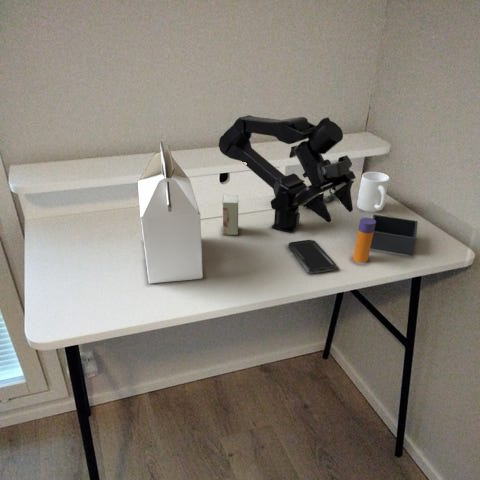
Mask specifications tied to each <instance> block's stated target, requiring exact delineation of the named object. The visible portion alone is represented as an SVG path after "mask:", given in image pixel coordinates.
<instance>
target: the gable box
mask: <svg viewBox="0 0 480 480" xmlns="http://www.w3.org/2000/svg"><path fill="white" fill-rule="evenodd" d="M159 147H160V151H158V152H156V153H154V154H153V156H152V157H151V159H150V160H149V162H148V163H147V165H146V168H145V170H144V171H143V173H142V174H141V176H140V178H139V180H138V181H137V187H138V189H137V191H138V201H139V215H140V216H139V217H140V224H141V232H142V240H143V248H144V255H145V264H146V272H147V279H148V283H149V284H161V283H170V282H172V283H173V282H179V281H180V282H181V281H192V280H202V279H203V276H204V273H203V272H204V271H203V249H202V248H203V247H202V225H201V223H202V222H201V212H200V209H199V208H200V207H199V205H198V202H197V199H196V196H195V195H196V194H195V192H194V189H193V186H192V182H191V179H190V178H189V177H188V176H187V174H186V173H185V172H184V170H183V169H182V168H181V166H180V165H179V164H178V162H177V161H176V160H175V159H174V157H173V156H172V152H171V148H170V145H167V147H166V150H165V148H164V143H163V141H159Z"/></svg>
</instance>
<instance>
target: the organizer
mask: <svg viewBox="0 0 480 480" xmlns="http://www.w3.org/2000/svg"><path fill="white" fill-rule="evenodd" d="M371 218H372V219H374V220H375V221H376V225H375V229H374V233H373V238H372V242H371V247H370V250H376V251H381V252H387V253H393V254H400V255H405V256H410V257H411V256H413V252H414V250H415V249H414V248H415V244H416V241H417V235H418V223H419V222H418V220H413V219H407V218H400V217H393V216H388V215H387V216H386V215H381V214H373V215H372V217H371Z"/></svg>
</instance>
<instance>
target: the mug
mask: <svg viewBox="0 0 480 480" xmlns="http://www.w3.org/2000/svg"><path fill="white" fill-rule="evenodd" d="M389 182H390V176H389V175H388V174H386V173H383V172H379V171H365V172H364V173H362V175H361V179H360V185H359V191H358V195H357V202H356V206H357V208H358V209H360V210H362V211H365V212H373V213H374V212H379V211H382V210H383V209H384V207H385V205H386V201H387V191H388V187H389V184H390V183H389Z"/></svg>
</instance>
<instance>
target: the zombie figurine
mask: <svg viewBox="0 0 480 480" xmlns="http://www.w3.org/2000/svg"><path fill="white" fill-rule="evenodd" d="M334 192H335V191H334V190H333V192H332V189H329V190H328V193H329V195H324V199H323V201H324V203H328V202H330V201H333V200H336V199H338V198H337V197H336V196H335V195H334ZM306 209H307V210H309V209H308V208H306Z"/></svg>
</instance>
